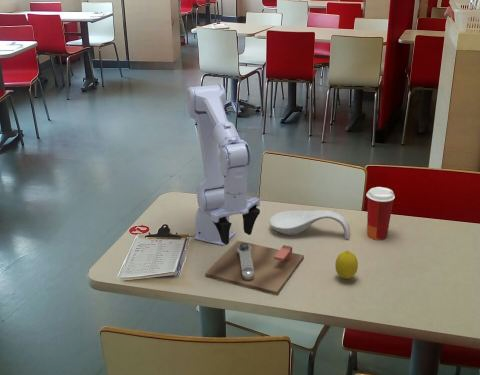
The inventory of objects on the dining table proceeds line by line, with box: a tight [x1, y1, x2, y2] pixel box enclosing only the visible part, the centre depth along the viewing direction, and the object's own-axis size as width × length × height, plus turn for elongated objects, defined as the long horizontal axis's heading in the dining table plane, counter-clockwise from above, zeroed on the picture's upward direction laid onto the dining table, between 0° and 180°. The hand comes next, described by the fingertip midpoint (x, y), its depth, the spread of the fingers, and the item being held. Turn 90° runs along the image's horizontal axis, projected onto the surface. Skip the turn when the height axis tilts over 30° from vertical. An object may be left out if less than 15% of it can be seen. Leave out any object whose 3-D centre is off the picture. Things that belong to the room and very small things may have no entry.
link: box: [237, 242, 254, 280], centre depth 143 cm, size 16×4×2 cm, turn 4°
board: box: [204, 240, 305, 296], centre depth 144 cm, size 20×19×1 cm
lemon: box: [334, 250, 359, 280], centre depth 137 cm, size 6×6×8 cm
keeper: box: [274, 244, 293, 261], centre depth 144 cm, size 2×7×3 cm, turn 154°
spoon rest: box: [268, 209, 351, 240], centre depth 161 cm, size 24×12×7 cm, turn 76°
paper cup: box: [366, 186, 396, 241], centre depth 156 cm, size 8×8×14 cm
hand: (236, 238), depth 141 cm, fingers open, 7 cm apart
